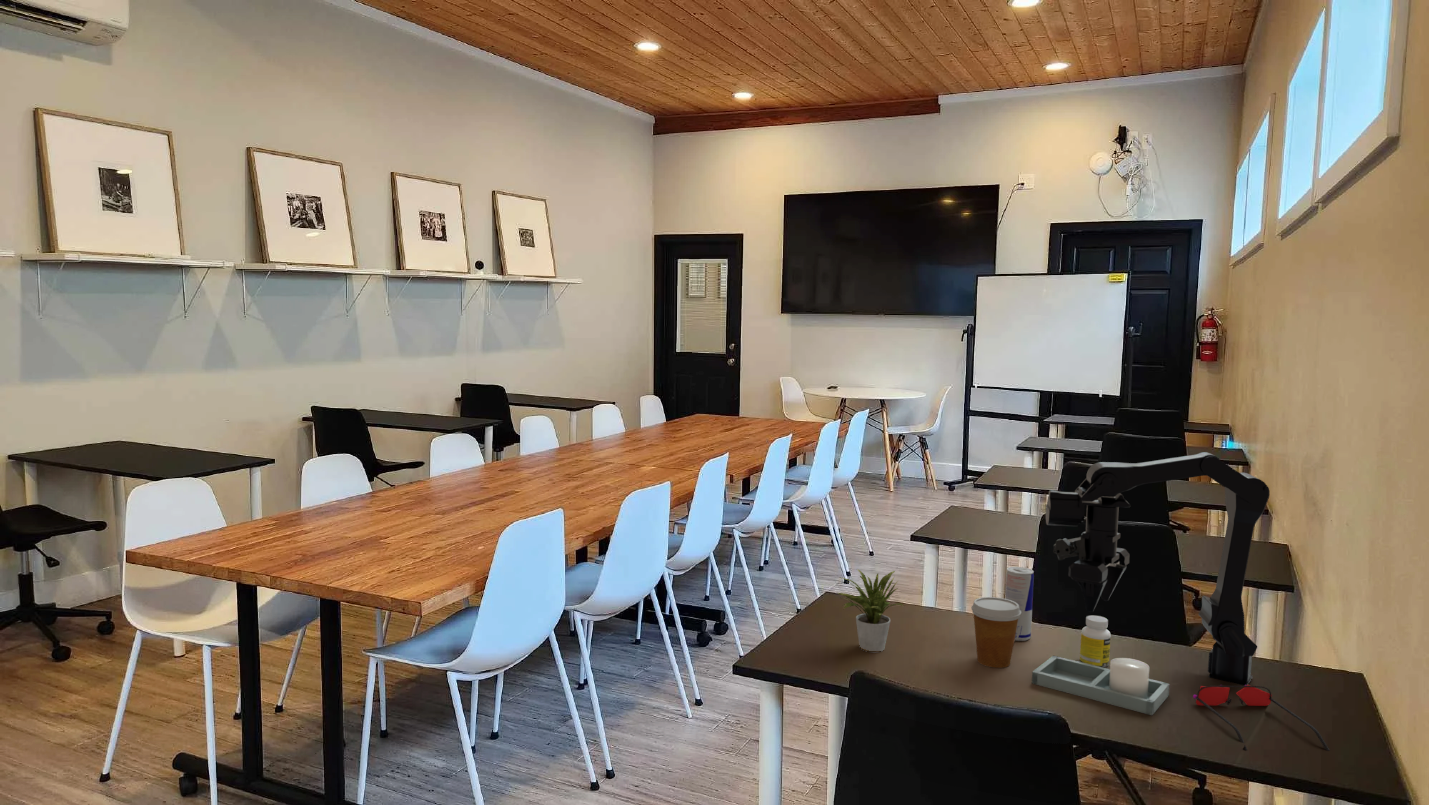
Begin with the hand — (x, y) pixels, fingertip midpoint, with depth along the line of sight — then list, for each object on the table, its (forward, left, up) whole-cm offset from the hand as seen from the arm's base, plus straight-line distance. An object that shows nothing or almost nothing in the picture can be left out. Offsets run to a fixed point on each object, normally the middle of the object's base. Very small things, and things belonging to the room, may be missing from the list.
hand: (1097, 606), depth 184 cm
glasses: (-30, +10, -13) cm, 34 cm away
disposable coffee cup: (+16, +11, -13) cm, 23 cm away
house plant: (+39, +19, -13) cm, 45 cm away
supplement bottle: (0, 0, -13) cm, 13 cm away
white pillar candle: (-10, +13, -12) cm, 20 cm away
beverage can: (+18, -6, -13) cm, 23 cm away
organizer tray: (-5, +13, -12) cm, 19 cm away
